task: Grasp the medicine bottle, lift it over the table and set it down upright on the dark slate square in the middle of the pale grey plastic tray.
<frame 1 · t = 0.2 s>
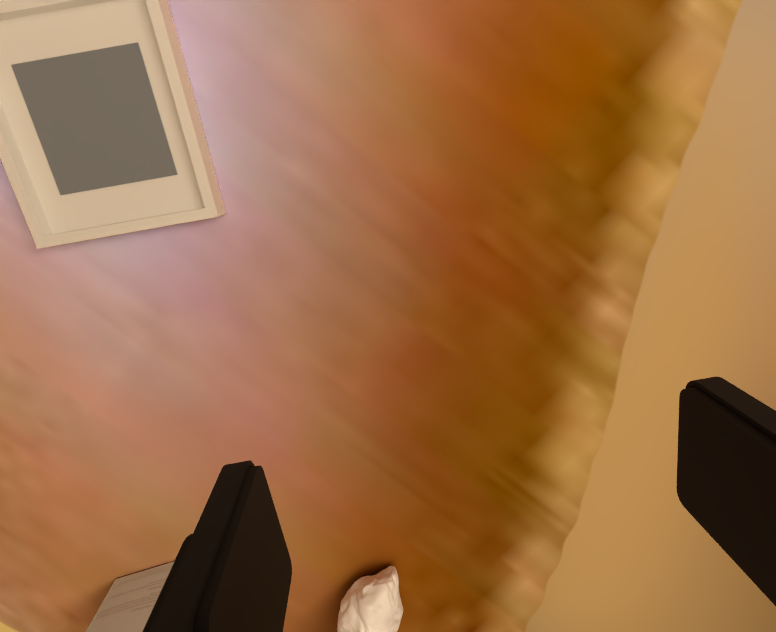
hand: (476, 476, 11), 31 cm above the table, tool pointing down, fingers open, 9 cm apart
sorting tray: (105, 123, 36), on the table
bust: (368, 592, 52), on the table
supplement box: (164, 591, 51), on the table
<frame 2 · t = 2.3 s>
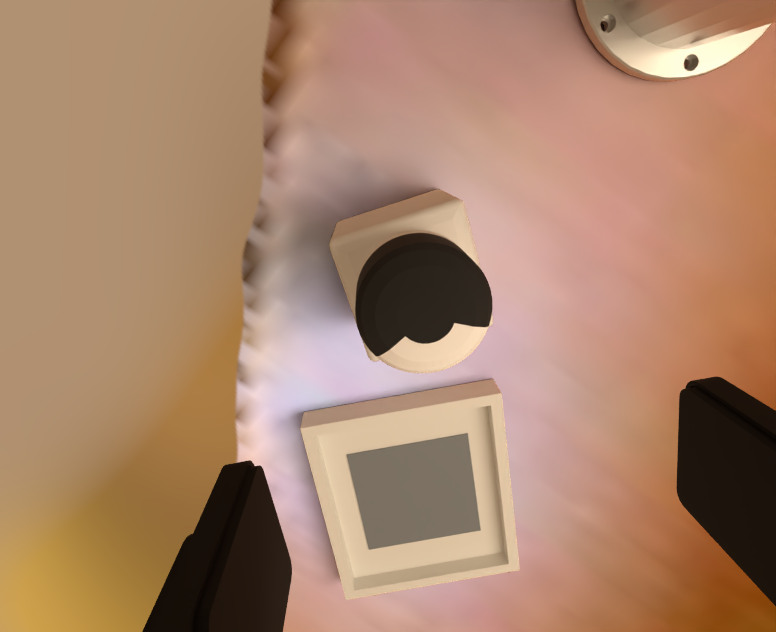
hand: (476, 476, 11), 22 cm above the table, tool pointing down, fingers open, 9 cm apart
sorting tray: (414, 484, 37), on the table
medicine bottle: (403, 256, 32), on the table
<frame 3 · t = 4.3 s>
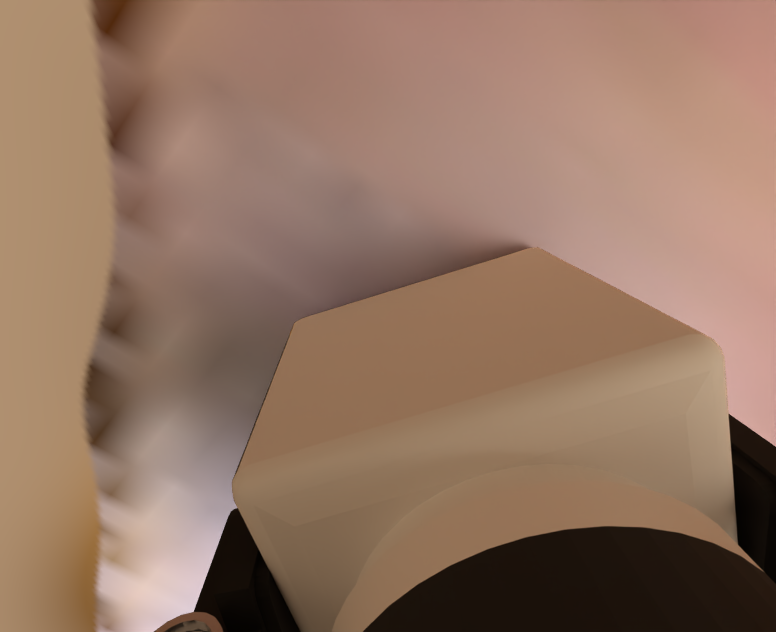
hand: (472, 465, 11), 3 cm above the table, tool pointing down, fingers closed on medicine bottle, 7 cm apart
medicine bottle: (444, 388, 14), on the table, touching gripper
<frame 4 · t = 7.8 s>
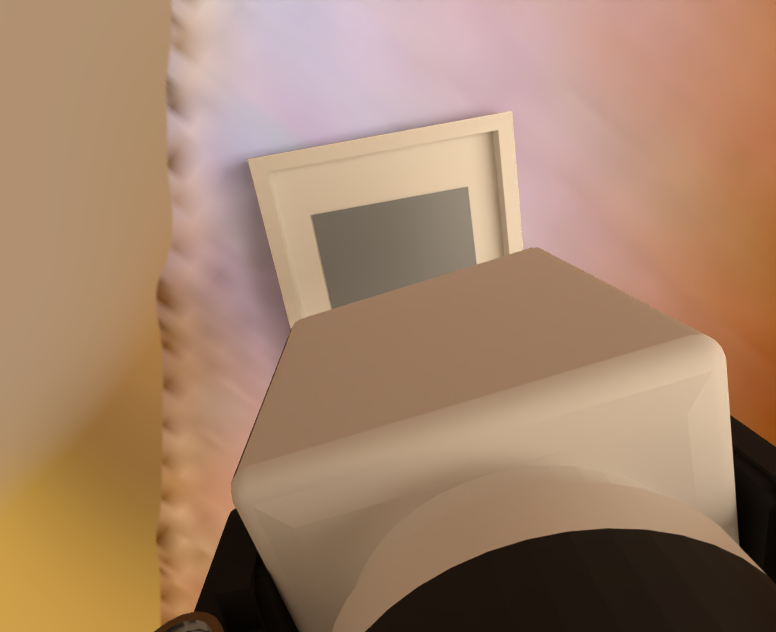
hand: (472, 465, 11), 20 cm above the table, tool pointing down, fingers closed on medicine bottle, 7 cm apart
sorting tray: (400, 272, 30), on the table
medicine bottle: (444, 388, 14), point 16 cm above the table, touching gripper
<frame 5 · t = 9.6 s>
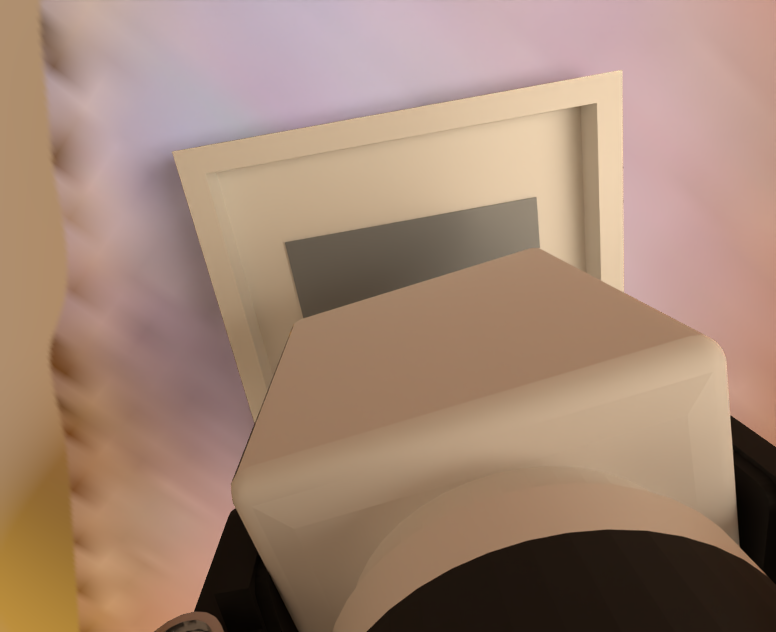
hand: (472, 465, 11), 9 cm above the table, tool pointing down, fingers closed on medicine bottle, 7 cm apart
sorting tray: (424, 327, 19), on the table
medicine bottle: (444, 388, 14), point 5 cm above the table, touching gripper
when the fingers open (6 cm above the table, at t = 11.3 s): medicine bottle drops 1 cm, resting on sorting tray.
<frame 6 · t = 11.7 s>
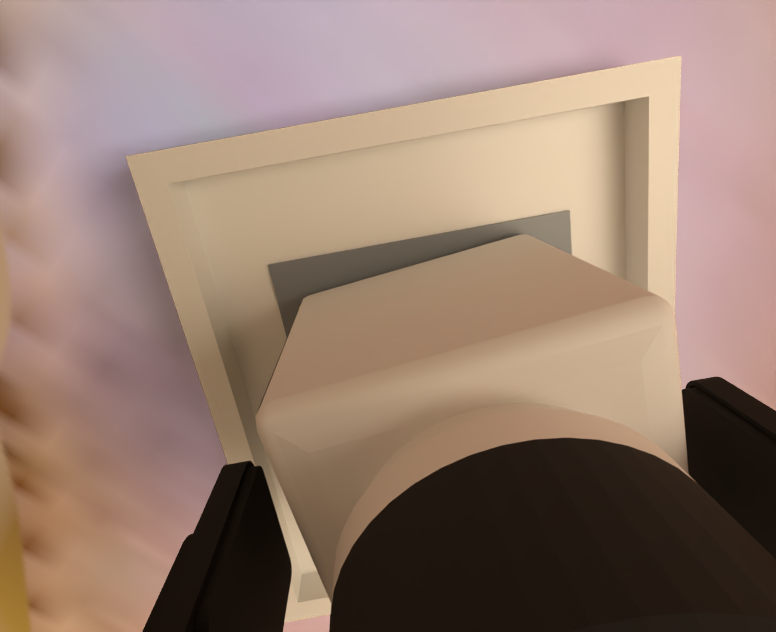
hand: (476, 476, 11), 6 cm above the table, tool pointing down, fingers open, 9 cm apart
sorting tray: (434, 360, 17), on the table
medicine bottle: (439, 364, 16), point 1 cm above the table, touching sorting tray
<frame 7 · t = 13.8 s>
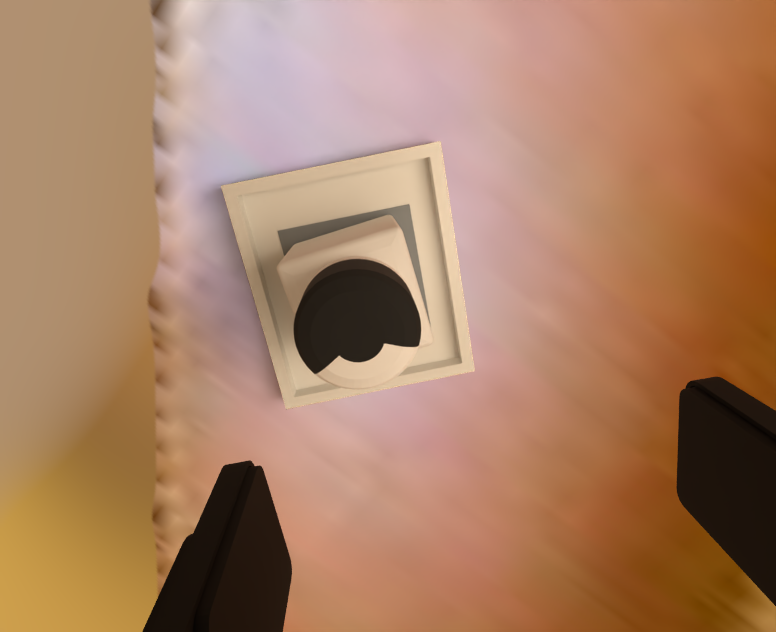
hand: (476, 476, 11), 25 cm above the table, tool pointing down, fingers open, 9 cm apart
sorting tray: (357, 278, 34), on the table
medicine bottle: (357, 277, 33), point 1 cm above the table, touching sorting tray
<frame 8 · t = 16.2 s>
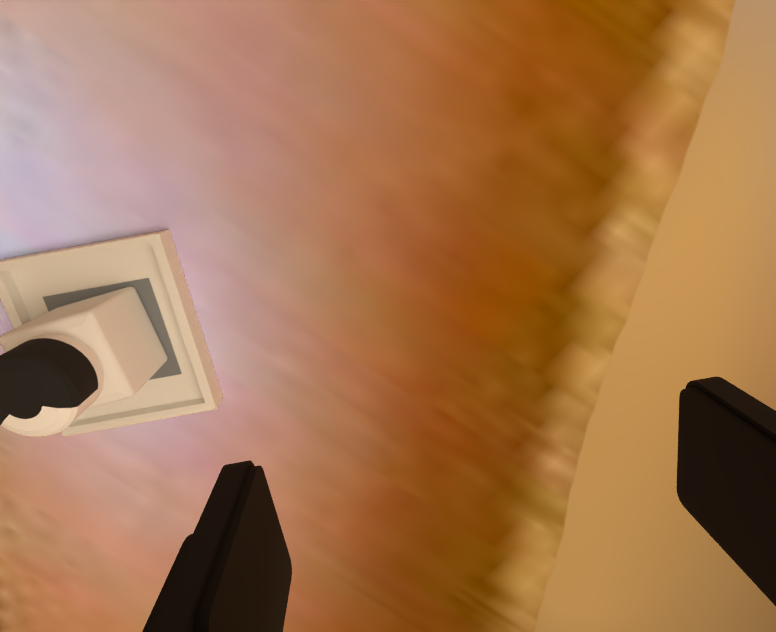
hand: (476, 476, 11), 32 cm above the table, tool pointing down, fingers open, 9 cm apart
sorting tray: (120, 332, 42), on the table
medicine bottle: (115, 333, 42), point 1 cm above the table, touching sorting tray
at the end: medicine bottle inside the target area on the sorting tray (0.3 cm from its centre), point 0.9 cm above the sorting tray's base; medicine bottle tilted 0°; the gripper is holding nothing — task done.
